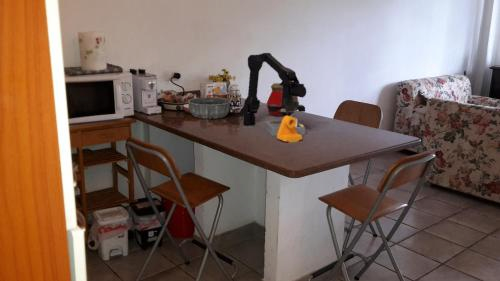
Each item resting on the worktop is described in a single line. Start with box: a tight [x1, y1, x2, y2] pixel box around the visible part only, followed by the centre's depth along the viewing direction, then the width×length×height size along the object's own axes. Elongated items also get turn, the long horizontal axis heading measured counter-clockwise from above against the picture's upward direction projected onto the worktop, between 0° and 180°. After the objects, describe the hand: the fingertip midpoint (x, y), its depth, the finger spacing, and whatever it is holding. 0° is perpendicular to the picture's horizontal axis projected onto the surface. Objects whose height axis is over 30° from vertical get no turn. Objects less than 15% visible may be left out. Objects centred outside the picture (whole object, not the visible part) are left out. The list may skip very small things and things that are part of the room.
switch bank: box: [263, 120, 306, 137], centre depth 249 cm, size 18×18×5 cm
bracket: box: [276, 116, 303, 143], centre depth 229 cm, size 11×7×12 cm, turn 119°
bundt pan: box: [187, 96, 232, 120], centre depth 282 cm, size 26×26×10 cm
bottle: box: [266, 82, 283, 118], centre depth 290 cm, size 16×14×20 cm
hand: (285, 124), depth 243 cm, fingers closed
